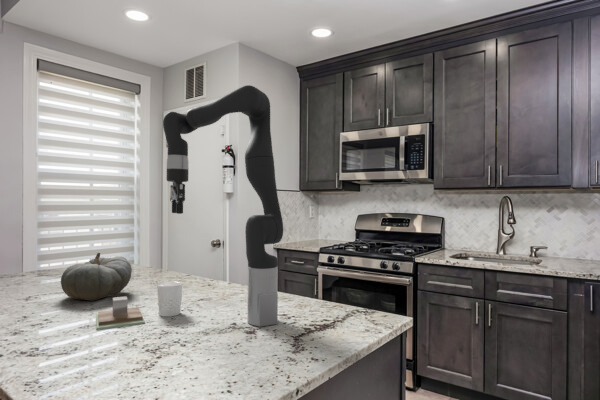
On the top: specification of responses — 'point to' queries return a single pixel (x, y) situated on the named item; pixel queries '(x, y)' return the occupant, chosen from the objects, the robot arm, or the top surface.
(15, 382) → the top surface
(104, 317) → the lid
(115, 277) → the gourd
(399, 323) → the top surface
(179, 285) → the white cup
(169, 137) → the robot arm
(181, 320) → the top surface
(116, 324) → the mat
